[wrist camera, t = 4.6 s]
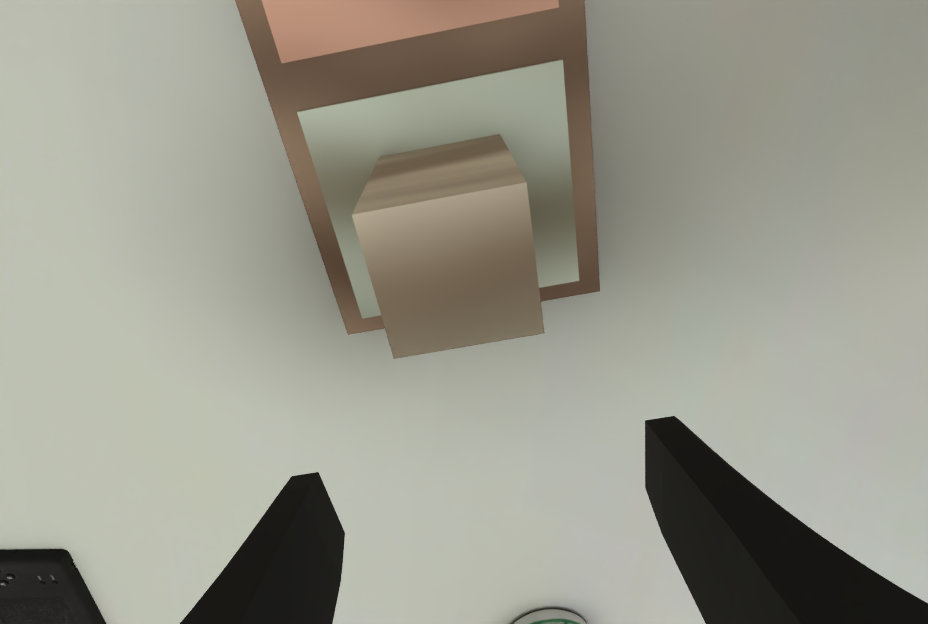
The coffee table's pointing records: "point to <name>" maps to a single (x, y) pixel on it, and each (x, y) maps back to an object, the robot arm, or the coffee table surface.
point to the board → (431, 115)
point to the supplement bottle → (551, 617)
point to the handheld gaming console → (44, 589)
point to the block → (450, 247)
